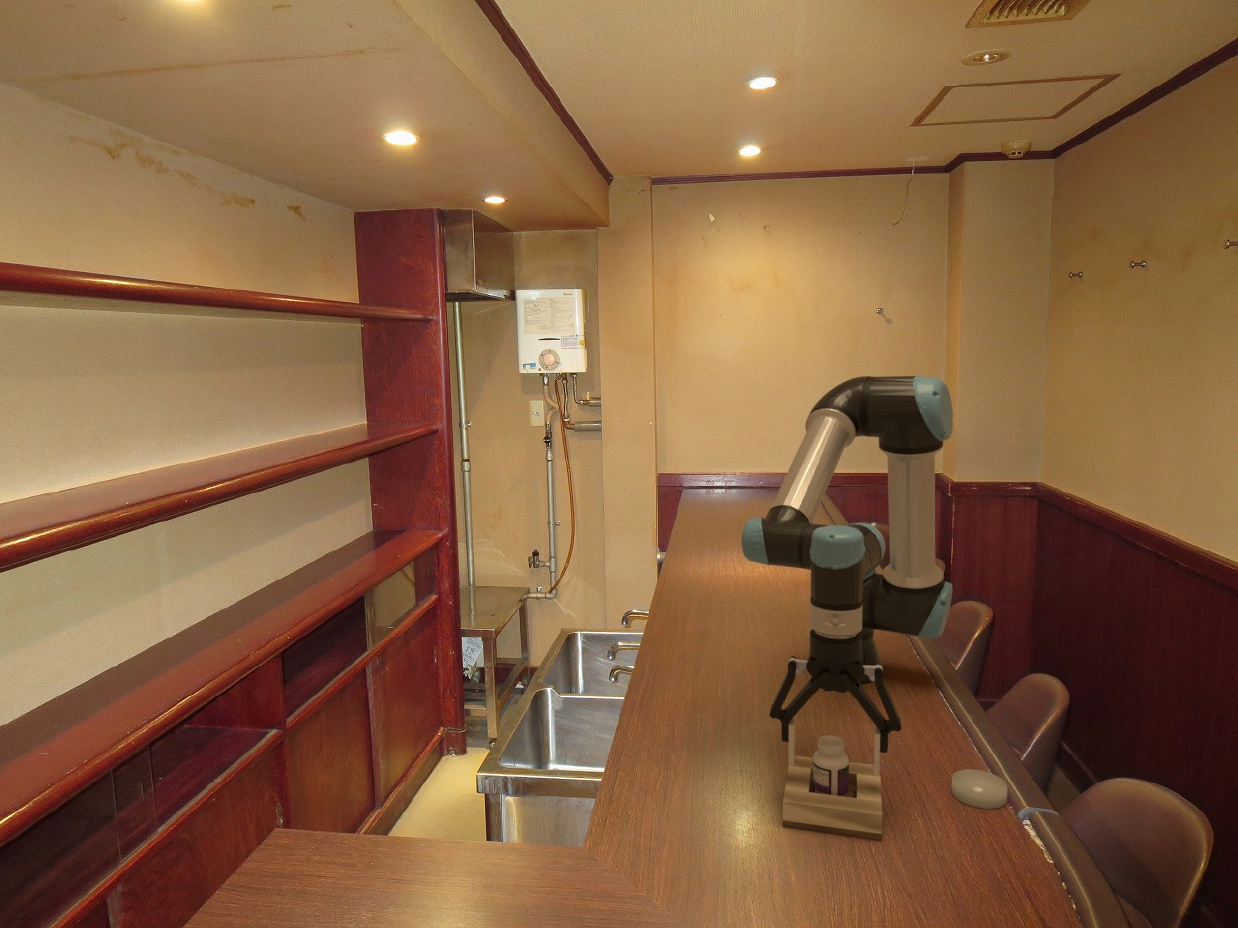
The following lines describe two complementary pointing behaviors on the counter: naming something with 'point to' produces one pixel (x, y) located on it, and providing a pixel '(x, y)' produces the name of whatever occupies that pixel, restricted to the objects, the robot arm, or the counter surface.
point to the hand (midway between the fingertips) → (833, 765)
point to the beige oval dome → (979, 789)
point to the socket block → (834, 802)
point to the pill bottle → (831, 767)
